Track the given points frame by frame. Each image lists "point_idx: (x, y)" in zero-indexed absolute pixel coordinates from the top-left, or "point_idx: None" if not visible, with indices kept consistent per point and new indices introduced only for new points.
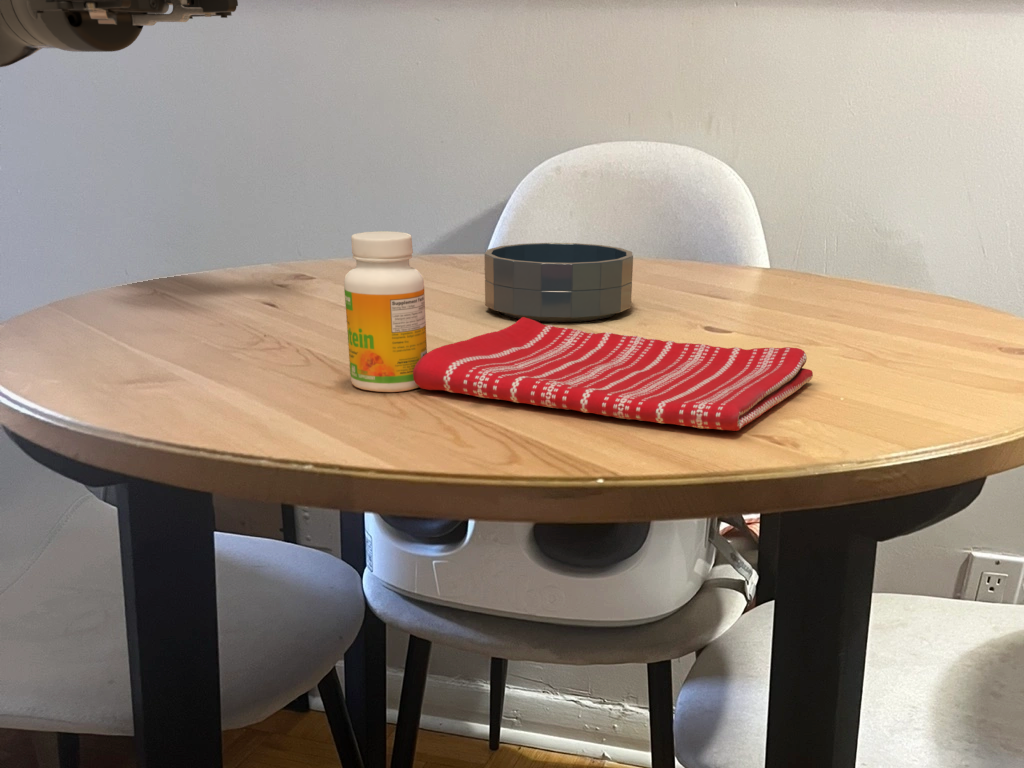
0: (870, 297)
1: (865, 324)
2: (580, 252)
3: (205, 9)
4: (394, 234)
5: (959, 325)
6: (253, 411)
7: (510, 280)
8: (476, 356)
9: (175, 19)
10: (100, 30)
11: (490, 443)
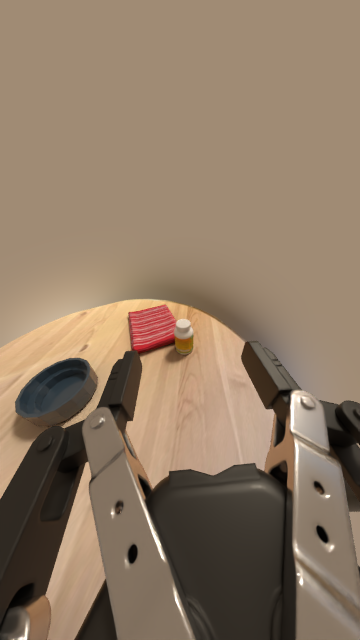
0: (9, 353)
1: (61, 335)
2: (23, 398)
3: (133, 411)
4: (180, 322)
5: (56, 326)
6: (219, 346)
7: (91, 381)
8: (170, 334)
9: (148, 479)
10: None
11: (192, 318)
